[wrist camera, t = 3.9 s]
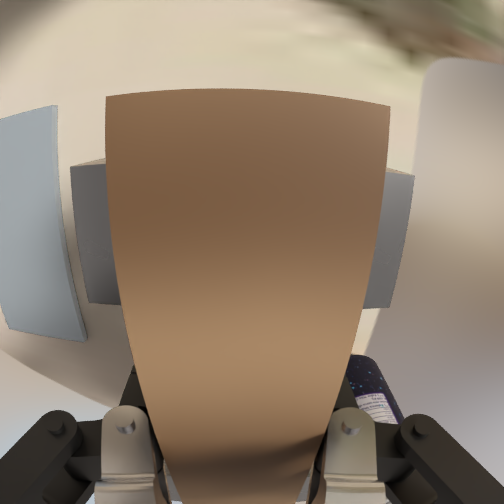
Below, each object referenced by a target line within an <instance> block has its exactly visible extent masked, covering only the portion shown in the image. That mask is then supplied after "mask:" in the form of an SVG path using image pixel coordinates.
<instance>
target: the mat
mask: <svg viewBox="0 0 504 504" xmlns="http://www.w3.org/2000/svg"><path fill="white" fill-rule="evenodd" d="M0 305H1V308H2V311H3V314H4V316H5V319H6V322H7V325H8V327H9V329H12V330H17V331H22V332H27V333H32V334H37V335H42V336H48V337H53V338H59V339H65V340H72V341H79V342H85V341H86V339H87V334H86V331H85V327H84V323H83V320H82V316H81V312H80V308H79V304H78V300H77V296H76V291H75V287H74V282H73V278H72V273H71V268H70V262H69V257H68V251H67V245H66V239H65V232H64V225H63V217H62V209H61V199H60V188H59V175H58V154H57V106H56V105H51V106H47V107H43V108H38V109H34V110H31V111H27V112H23V113H19V114H16V115H12V116H9V117H6V118H2V119H0Z"/></svg>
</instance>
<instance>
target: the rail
mask: <svg viewBox="0 0 504 504" xmlns="http://www.w3.org/2000/svg"><path fill="white" fill-rule="evenodd" d="M389 124H390V106H385V105H381V104H375V103H370V102H365V101H359V100H353V99H347V98H340V97H333V96H326V95H318V94H309V93H300V92H289V91H275V90H258V89H181V90H164V91H151V92H140V93H130V94H122V95H114V96H107V97H106V112H105V152H106V179H107V195H108V208H109V219H110V229H111V238H112V247H113V255H114V262H115V269H116V275H117V282H118V288H119V294H120V299H121V305H122V310H123V315H124V320H125V325H126V330H127V334H128V339H129V343H130V348H131V352H132V356H133V360H134V364H135V368H136V372H137V376H138V379H139V383H140V386H141V390H142V393H143V397H144V400H145V404H146V407H147V410H148V413H149V417H150V420H151V423H152V426H153V429H154V432H155V435H156V438H157V440H158V443H159V446H160V449H161V451H162V454H163V457H164V460H165V462H166V465H167V467H168V470H169V472H170V475H171V477H172V480H173V482H174V485H175V487H176V489H177V492H178V494H179V496H180V498H181V501H182V503H183V504H295V502H296V500H297V498H298V496H299V494H300V492H301V489H302V487H303V485H304V483H305V480H306V478H307V476H308V474H309V471H310V469H311V467H312V464H313V462H314V459H315V457H316V454H317V452H318V449H319V447H320V444H321V442H322V439H323V436H324V434H325V431H326V428H327V426H328V423H329V420H330V417H331V414H332V411H333V409H334V406H335V403H336V400H337V397H338V394H339V391H340V387H341V384H342V381H343V378H344V375H345V371H346V368H347V365H348V361H349V358H350V354H351V351H352V347H353V343H354V340H355V336H356V332H357V328H358V324H359V320H360V316H361V312H362V308H363V304H364V299H365V295H366V290H367V286H368V281H369V276H370V271H371V266H372V261H373V256H374V250H375V244H376V239H377V233H378V226H379V220H380V213H381V206H382V198H383V191H384V182H385V173H386V163H387V152H388V140H389Z"/></svg>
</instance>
